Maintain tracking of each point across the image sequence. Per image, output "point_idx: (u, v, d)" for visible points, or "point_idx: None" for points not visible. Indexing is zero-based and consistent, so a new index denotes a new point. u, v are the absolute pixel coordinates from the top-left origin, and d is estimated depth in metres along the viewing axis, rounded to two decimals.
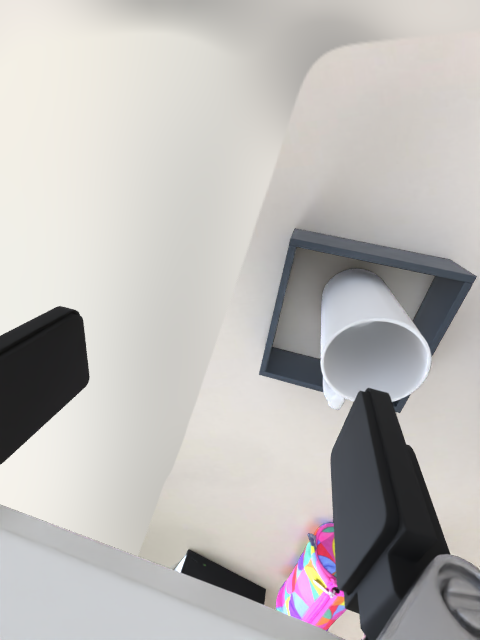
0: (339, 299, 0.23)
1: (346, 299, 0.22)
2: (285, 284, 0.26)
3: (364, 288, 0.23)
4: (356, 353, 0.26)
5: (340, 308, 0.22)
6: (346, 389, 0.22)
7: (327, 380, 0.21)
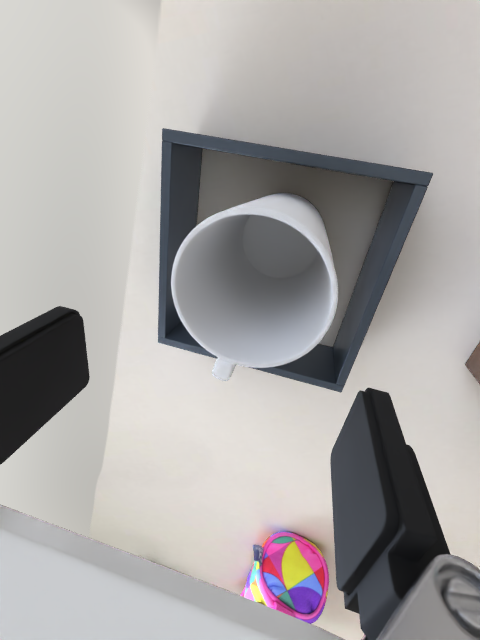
0: None
1: None
2: (167, 205, 0.18)
3: (265, 198, 0.15)
4: (271, 305, 0.18)
5: None
6: (226, 346, 0.14)
7: (189, 329, 0.13)
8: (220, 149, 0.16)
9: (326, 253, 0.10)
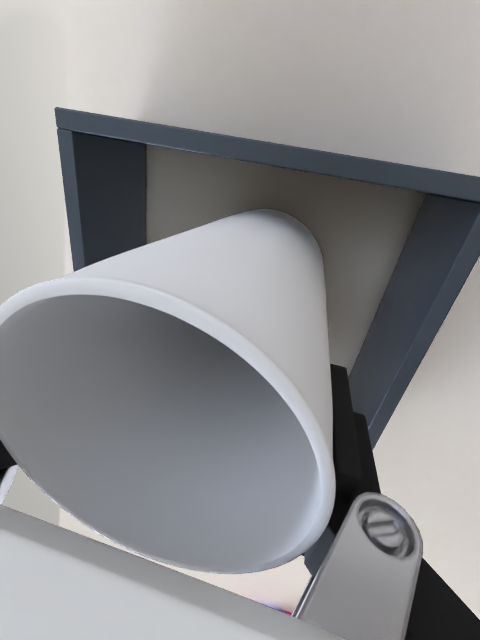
0: None
1: None
2: (78, 230, 0.12)
3: (215, 224, 0.09)
4: (236, 384, 0.12)
5: None
6: (126, 506, 0.07)
7: (43, 489, 0.07)
8: (149, 142, 0.10)
9: (303, 405, 0.04)
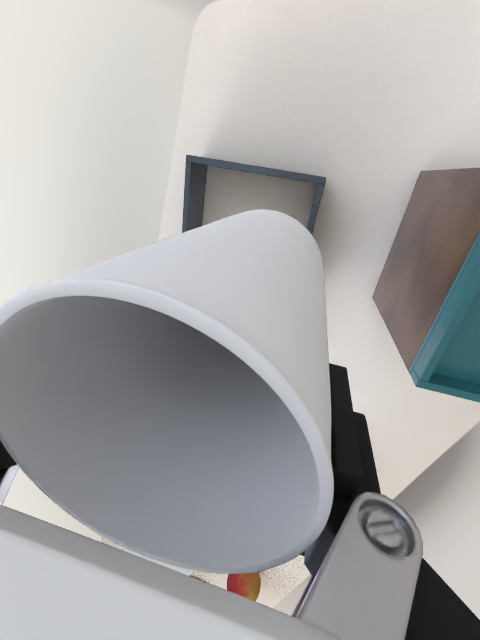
0: None
1: None
2: (188, 197, 0.32)
3: (214, 225, 0.09)
4: (236, 384, 0.12)
5: None
6: (126, 506, 0.07)
7: (43, 489, 0.07)
8: (217, 165, 0.30)
9: (301, 406, 0.04)
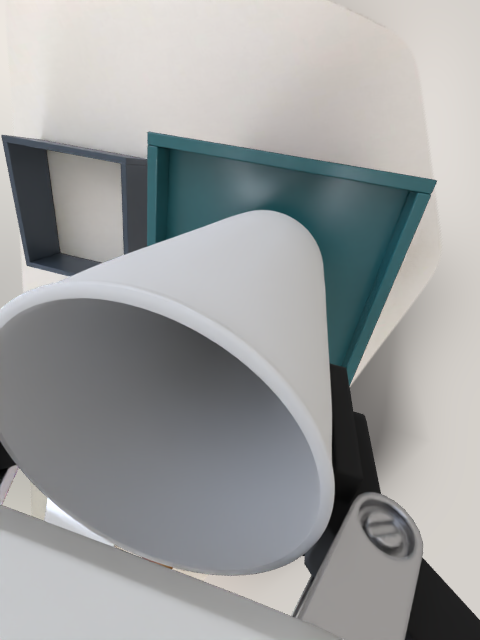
0: None
1: None
2: (12, 177, 0.32)
3: (215, 226, 0.09)
4: (236, 385, 0.12)
5: None
6: (126, 508, 0.07)
7: (43, 491, 0.07)
8: (30, 145, 0.30)
9: (302, 409, 0.04)
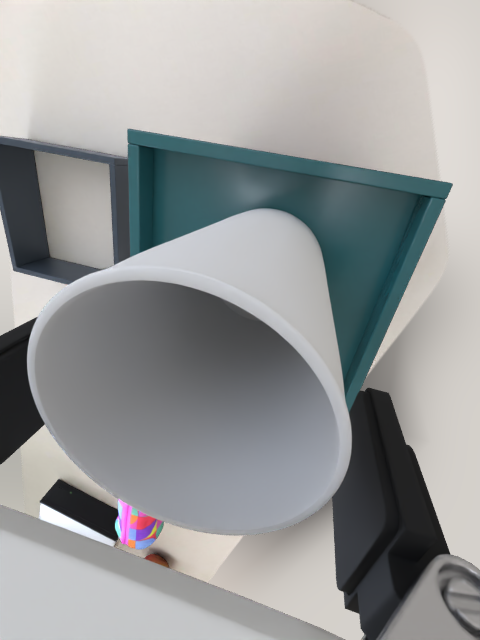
0: None
1: None
2: None
3: (227, 222, 0.10)
4: (244, 373, 0.13)
5: None
6: (153, 481, 0.08)
7: (79, 465, 0.07)
8: (14, 145, 0.29)
9: (326, 371, 0.05)
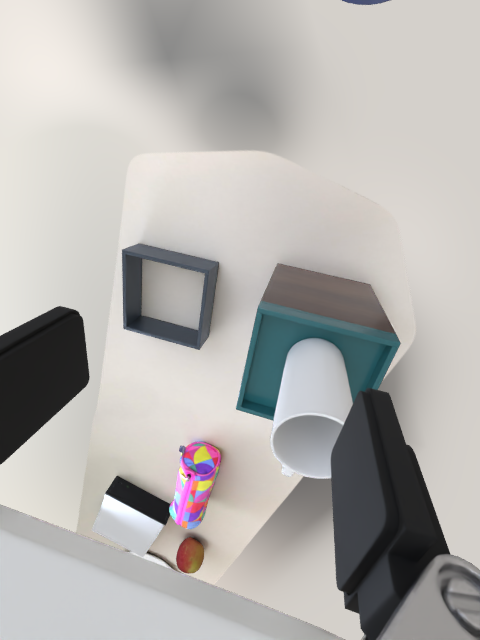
0: (292, 378, 0.26)
1: (297, 381, 0.25)
2: (125, 274, 0.47)
3: (314, 369, 0.26)
4: (311, 419, 0.29)
5: (290, 391, 0.25)
6: (295, 463, 0.24)
7: (277, 457, 0.24)
8: None
9: None
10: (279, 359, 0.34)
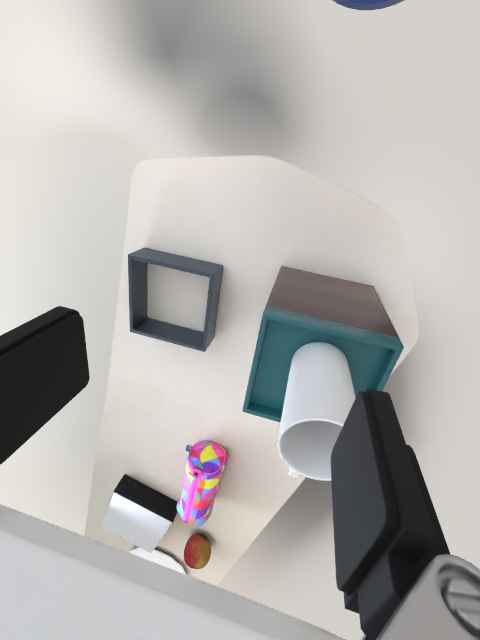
0: (298, 382, 0.27)
1: (302, 386, 0.26)
2: (131, 278, 0.48)
3: (319, 374, 0.27)
4: (317, 422, 0.30)
5: (296, 396, 0.25)
6: (301, 465, 0.25)
7: (284, 460, 0.24)
8: (148, 262, 0.46)
9: None
10: (285, 363, 0.35)
